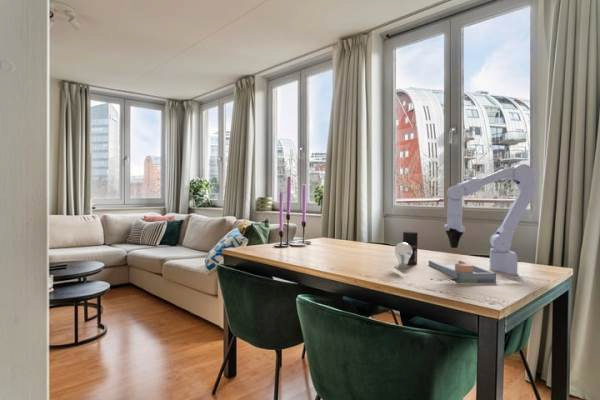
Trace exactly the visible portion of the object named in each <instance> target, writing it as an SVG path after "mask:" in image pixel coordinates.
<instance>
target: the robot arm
mask: <svg viewBox="0 0 600 400" xmlns="http://www.w3.org/2000/svg"><path fill="white" fill-rule="evenodd" d="M535 176H536V173H535V172H534V170H533V168H532V167H531V166H530V165H528V164H527V163H521V164H518V165H514V166H510V167H506V168H505V167H504V168H503V169H500V170H497V171H495V172H493V173H491V174H488V175H485V176H483V177H480V178H478V177H469V178H467V179H468V180H465V181H462V182H457V183H456V185H453V186H450V187H449V188H447V191H446V196H447V197H448V198H447V206H446V209H447V212H446V213H447V214H446V223H444V224H443V225H444V229H446V230H445V233H446V235H447V237H448V239H449V245H450V248H451V249H457V248H458V246H459V243H460V240H461V238H462V235H463V234H464V233H466V227H465V226H463V203H462V202H463V197H467V196H469V195H472V194H475V193H477V192H480V191H481V190H482V188H483V187H484V186H486V185H489V184H492V183H494V182H497V181H501V180H503V179H504V180H509V179H510V180H512V181H513V182H514V183H515V184H516V187H517V188H518V190H519V191H518V193H517V195H516V197H515V199H514V200H513V202H512V205H511V206H510V208H509V210H508V211H507V214H506V215H505V217H504V219H503V222H502V223H501V225H500V226H499V227H498V228H497V229H496V232H494V233H493V234H492V235H490V237H489V243H490V246H491V248H489V271H493V272H502V273H506V274H508V275H510V276H519V273H518V262H519V261H518V259H519V258H518V255H517V253H516V252H515V251H512V250H511V247H512V241H513V240H512V239H513V238H514V234H515V233H514V232H515V230H516V228H517V226H518V225H519V222H520V221H521V219H522V218H523V215H524V214H525V212H526V211H527V207H528V206H529V204H530V203H531V200H532V198H533V196H534V194H535V193H536V191H537V188H536V181H535V180H536V179H535Z"/></svg>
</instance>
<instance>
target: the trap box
mask: <svg viewBox="0 0 600 400" xmlns="http://www.w3.org/2000/svg"><path fill="white" fill-rule="evenodd" d="M465 263H467V264H470V265H472V266H473V273H458V272H456V271H455V264H440V263H438V262H436V261H433V260H431V259H429V260H428V266H430V267H432V268H434V269H436V270H438V271H440V272H442V273H444V274H445V275H449V276H450V277H452V278H449V280H450V281H452V282H454V281H455V283H456V284H496V283H497V273H496V272H495V271H492V270H488V269H485V268H483V267H480V266H477V265H475V264H472V263H470V262H466V261H465V260H461V259H458V264H465Z"/></svg>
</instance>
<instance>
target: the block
mask: <svg viewBox="0 0 600 400" xmlns="http://www.w3.org/2000/svg"><path fill="white" fill-rule="evenodd" d="M467 263H468V262H467ZM467 263H465V264H459V263H454V265H455V271H456V272H458V273H473V266H472V265H473V264H472V265H470V264H471V263H470V264H467Z"/></svg>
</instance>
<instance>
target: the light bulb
mask: <svg viewBox="0 0 600 400" xmlns="http://www.w3.org/2000/svg"><path fill="white" fill-rule="evenodd" d="M394 255H395V256H396V258H397V261H398V262H397V263H398V265H399V266H398V268H399V269H401V270H407V269H408V265H407V264H408V261H409V258H410V257H411V255H412V248H411V246H410V245H409V244H408V243H406V242H403V241H402V242H398V243H397V244H396V246H395V248H394Z"/></svg>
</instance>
